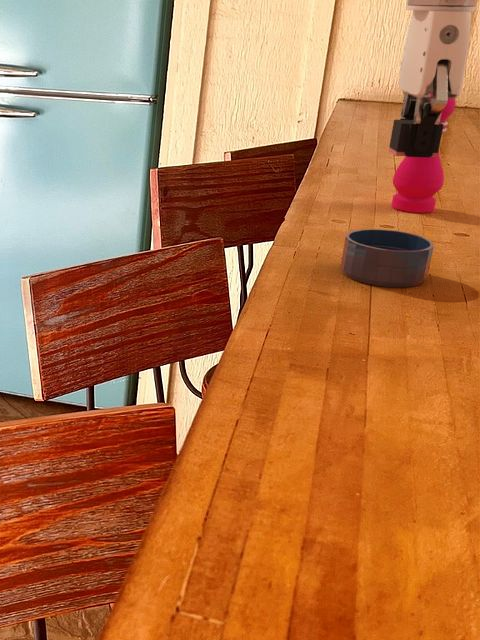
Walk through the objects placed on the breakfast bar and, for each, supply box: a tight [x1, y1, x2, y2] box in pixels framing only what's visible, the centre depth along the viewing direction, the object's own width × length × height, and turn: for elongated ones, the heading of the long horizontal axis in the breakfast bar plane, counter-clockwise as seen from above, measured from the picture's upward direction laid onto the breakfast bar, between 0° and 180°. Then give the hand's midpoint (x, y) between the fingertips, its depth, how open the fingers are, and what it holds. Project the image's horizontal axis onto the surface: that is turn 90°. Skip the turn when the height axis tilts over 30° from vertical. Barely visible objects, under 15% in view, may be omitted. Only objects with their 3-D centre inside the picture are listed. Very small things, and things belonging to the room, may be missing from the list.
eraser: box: [388, 119, 444, 157], centre depth 111 cm, size 5×3×4 cm
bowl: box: [340, 228, 435, 288], centre depth 107 cm, size 10×10×4 cm
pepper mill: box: [390, 93, 456, 214], centre depth 136 cm, size 7×7×20 cm
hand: (413, 152), depth 112 cm, fingers closed on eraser, 3 cm apart
